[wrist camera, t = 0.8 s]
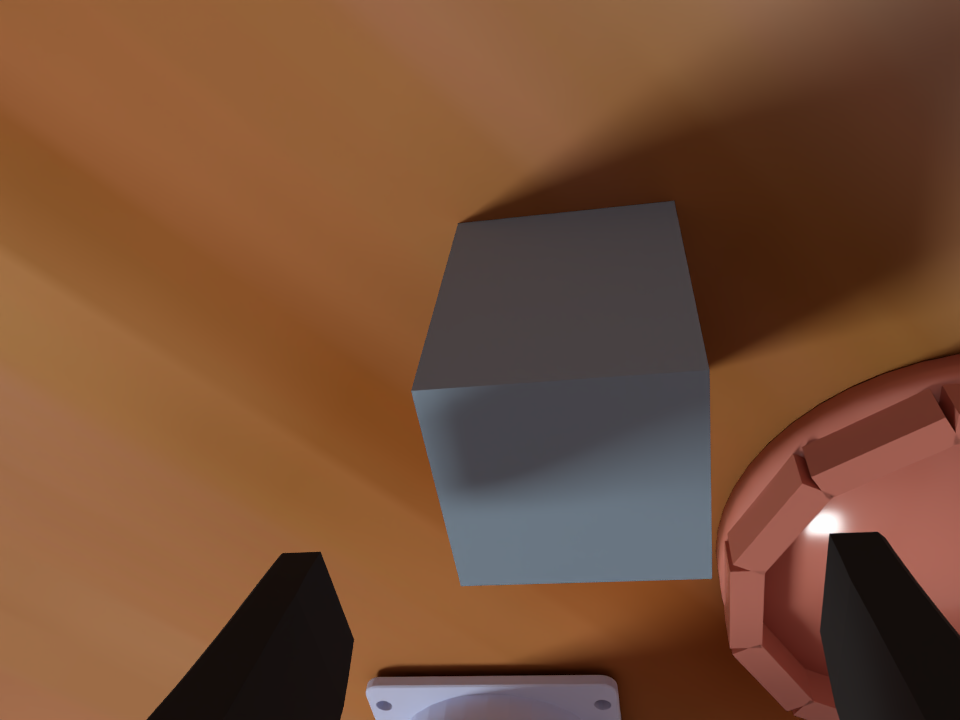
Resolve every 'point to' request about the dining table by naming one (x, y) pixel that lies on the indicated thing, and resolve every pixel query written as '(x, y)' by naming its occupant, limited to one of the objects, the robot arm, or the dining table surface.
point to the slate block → (569, 400)
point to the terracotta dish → (840, 520)
